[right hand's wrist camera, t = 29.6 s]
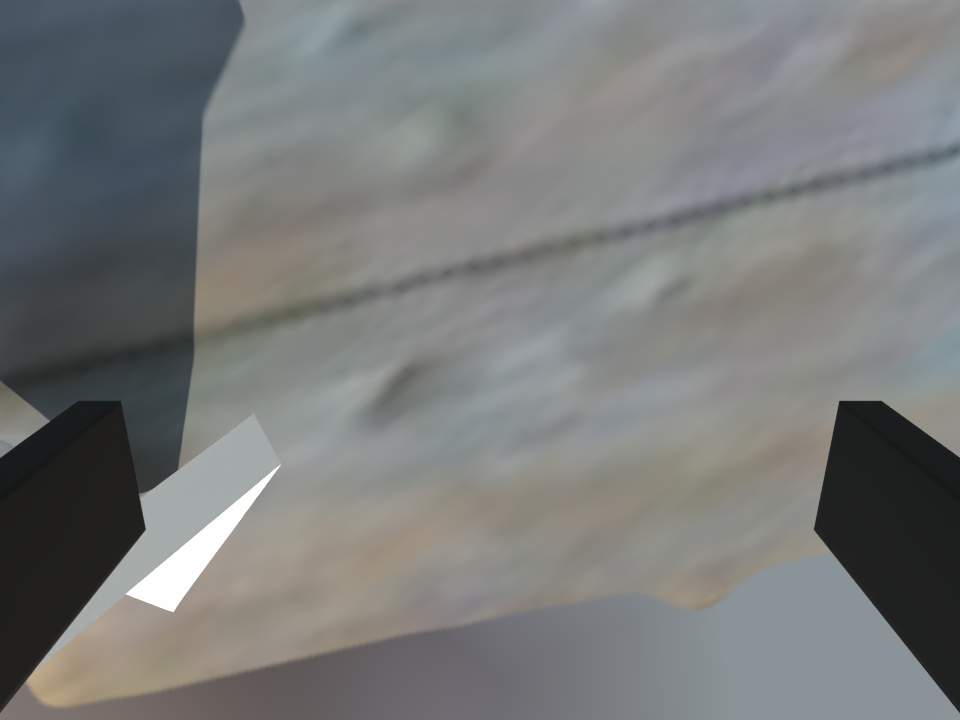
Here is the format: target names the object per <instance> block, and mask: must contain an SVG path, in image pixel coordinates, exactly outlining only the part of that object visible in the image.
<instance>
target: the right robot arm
mask: <svg viewBox="0 0 960 720" xmlns="http://www.w3.org/2000/svg"><path fill="white" fill-rule="evenodd" d="M145 530H146V527H145V522H144V517H143V512H142V507H141V502H140V497H139V491H138V486H137V481H136V476H135V471H134V466H133V461H132V456H131V451H130V446H129V441H128V436H127V431H126V426H125V421H124V416H123V411H122V406H121V401H78V402H76V403H75V404H74V405H72V406H71V407H70V408H68V409H67V410H65V411H64V412H63V413H61V414H60V415H58V416H57V417H56V418H54V419H53V420H52V421H50V422H49V423H47V424H46V425H45V426H43V427H42V428H41V429H39V430H38V431H36V432H35V433H34V434H32V435H31V436H30V437H28V438H27V439H25V440H24V441H23V442H21V443H20V444H18V445H17V446H16V447H14V448H13V449H12V450H10V451H9V452H7V453H6V454H5V455H3V456H2V457H1V458H0V713H1V711H2V710H3V709H4V708H5V706H6V705H7V704H8V703H9V701H10V700H11V699H12V698H13V696H14V695H15V694H16V692H17V691H18V690H19V689H20V687H21V686H22V685H23V684H24V682H25V681H26V680H27V679H28V677H29V676H30V675H31V674H32V672H33V671H34V670H35V669H36V667H37V666H38V665H39V664H40V662H41V661H42V660H43V659H44V657H45V656H46V655H47V654H48V652H49V651H50V650H51V649H52V647H53V646H54V645H55V644H56V642H57V641H58V640H59V638H60V637H61V636H62V635H63V633H64V632H65V631H66V630H67V628H68V627H69V626H70V625H71V623H72V622H73V621H74V620H75V618H76V617H77V616H78V615H79V613H80V612H81V611H82V610H83V608H84V607H85V606H86V605H87V603H88V602H89V601H90V600H91V598H92V597H93V596H94V595H95V593H96V592H97V591H98V589H99V588H100V587H101V586H102V584H103V583H104V582H105V581H106V579H107V578H108V577H109V576H110V574H111V573H112V572H113V571H114V569H115V568H116V567H117V566H118V564H119V563H120V562H121V561H122V559H123V558H124V557H125V556H126V554H127V553H128V552H129V551H130V549H131V548H132V547H133V546H134V544H135V543H136V542H137V540H138V539H139V538H140V537H141V535H142V534H143V533H144V532H145ZM814 530H815V532H816V533H817V534H818V535H819V537H820V538H821V539H822V540H823V542H824V543H825V544H826V546H827V547H828V548H829V549H830V551H831V552H832V553H833V554H834V556H835V557H836V558H837V559H838V561H839V562H840V563H841V564H842V566H843V567H844V568H845V569H846V571H847V572H848V573H849V574H850V576H851V577H852V578H853V579H854V581H855V582H856V583H857V584H858V586H859V587H860V588H861V589H862V591H863V592H864V593H865V595H866V596H867V597H868V598H869V600H870V601H871V602H872V603H873V605H874V606H875V607H876V608H877V610H878V611H879V612H880V613H881V615H882V616H883V617H884V618H885V620H886V621H887V622H888V623H889V625H890V626H891V627H892V628H893V630H894V631H895V632H896V633H897V635H898V636H899V637H900V638H901V640H902V641H903V642H904V644H905V645H906V646H907V647H908V649H909V650H910V651H911V652H912V654H913V655H914V656H915V657H916V658H917V660H918V661H919V662H920V664H921V665H922V666H923V667H924V669H925V670H926V671H927V672H928V674H929V675H930V676H931V677H932V679H933V680H934V681H935V682H936V684H937V685H938V686H939V687H940V689H941V690H942V691H943V693H944V694H945V695H946V696H947V697H948V699H949V700H950V701H951V703H952V704H953V705H954V706H955V708H956V709H957V710H958V711H959V713H960V458H959V457H958V456H957V455H955V454H954V453H953V452H951V451H950V450H948V449H947V448H946V447H944V446H943V445H942V444H940V443H939V442H937V441H936V440H935V439H933V438H932V437H930V436H929V435H928V434H926V433H925V432H924V431H922V430H921V429H919V428H918V427H917V426H915V425H914V424H913V423H911V422H910V421H908V420H907V419H906V418H904V417H903V416H902V415H900V414H899V413H897V412H896V411H895V410H893V409H892V408H890V407H889V406H888V405H886V404H885V403H884V402H882V401H839V406H838V411H837V416H836V421H835V426H834V431H833V436H832V441H831V446H830V451H829V456H828V461H827V466H826V471H825V476H824V481H823V486H822V491H821V496H820V502H819V507H818V512H817V517H816V522H815V527H814Z"/></svg>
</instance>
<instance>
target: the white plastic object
mask: <svg viewBox="0 0 960 720" xmlns="http://www.w3.org/2000/svg"><path fill="white" fill-rule="evenodd" d="M14 447H15V446H13V445H11V444H9V443H7V442H5V441H3V440H1V439H0V458H1V457H2V456H3V455H5V454H6V453H7V452H9V451H10V450H12V449H13V448H14ZM280 465H281V463H280V461H279V459H278V458H277V456H276V454H275V452H274V450H273V448H272V446H271V445H270V443H269V441H268V439H267V437H266V435H265V433H264V431H263V430H262V428H261V426H260V424H259V422H258V420H257V418H256V417H255V415H254V414H253V415H251V416H250V417H249V418H247V419H246V420H245V421H243V422H242V423H241V424H239V425H238V426H237V427H235V428H234V429H233V430H231V431H230V432H229V433H227V434H226V435H225V436H223V437H222V438H221V439H219V440H218V441H216V442H215V443H214V444H212V445H211V446H210V447H208V448H207V449H206V450H204V451H203V452H202V453H200V454H199V455H198V456H196V457H195V458H194V459H192V460H191V461H190V462H188V463H187V464H186V465H184V466H183V467H182V468H180V469H179V470H178V471H176V472H175V473H174V474H172V475H171V476H170V477H168V478H167V479H166V480H164V481H163V482H162V483H160V484H159V485H158V486H156V487H155V488H153V489H152V490H150V491H147V492H144V493H141V494H139V497H140V502H141V507H142V512H143V517H144V522H145V527H146V530H145V532H144V533H143V534H142V535H141V537H140V538H139V539H138V540H137V542H136V543H135V544H134V546H133V547H132V548H131V549H130V551H129V552H128V553H127V554H126V556H125V557H124V558H123V559H122V561H121V562H120V563H119V564H118V566H117V567H116V568H115V569H114V571H113V572H112V573H111V574H110V576H109V577H108V578H107V579H106V581H105V582H104V583H103V584H102V586H101V587H100V588H99V589H98V591H97V592H96V593H95V595H94V596H93V597H92V598H91V600H90V601H89V602H88V603H87V605H86V606H85V607H84V608H83V610H82V611H81V612H80V613H79V615H78V616H77V617H76V618H75V620H74V621H73V622H72V623H71V625H70V626H69V627H68V628H67V630H66V631H65V632H64V633H63V635H62V636H61V637H60V638H59V640H58V641H57V642H56V644H55V645H54V646H53V647H52V649H51V650H50V651H49V652H48V654H47V655H46V656H45V657H44V659H43V660H42V661H41V662H40V664H39V665H38V666H37V667H36V669H37V668H38V667H39V666H41V665H42V664H43V663H44V662H45V661H47V660H48V659H49V658H50V657H51V656H53V655H54V654H55V653H56V652H57V651H58V650H60V649H61V648H62V647H63V646H64V645H66V644H67V643H68V642H69V641H70V640H72V639H73V638H74V637H75V636H76V635H78V634H79V633H80V632H81V631H82V630H84V629H85V628H86V627H87V626H88V625H90V624H91V623H92V622H93V621H94V620H96V619H97V618H98V617H99V616H100V615H101V614H103V613H104V612H105V611H106V610H107V609H109V608H110V607H111V606H112V605H113V604H115V603H116V602H117V601H118V600H119V599H121V598H122V597H123V596H124V595H125V594H127V595H130V596H133V597H135V598H138V599H140V600H143V601H146V602H148V603H151V604H153V605H156V606H158V607H161V608H164V609H166V610H169V611H172V612H174V610H175V608H176V607H177V605H178V604H179V602H180V601H181V600H182V598H183V597H184V595H185V594H186V592H187V591H188V590H189V588H190V587H191V586H192V584H193V583H194V582H195V580H196V579H197V577H198V576H199V575H200V573H201V572H202V571H203V569H204V568H205V567H206V565H207V564H208V563H209V561H210V560H211V559H212V557H213V556H214V554H215V553H216V552H217V550H218V549H219V548H220V546H221V545H222V544H223V542H224V541H225V540H226V538H227V537H228V535H229V534H230V533H231V531H232V530H233V529H234V527H235V526H236V525H237V523H238V522H239V521H240V519H241V518H242V516H243V515H244V514H245V512H246V511H247V510H248V508H249V507H250V506H251V504H252V503H253V502H254V500H255V499H256V497H257V496H258V495H259V493H260V492H261V491H262V489H263V488H264V487H265V485H266V484H267V483H268V481H269V480H270V478H271V477H272V476H273V474H274V473H275V472H276V470H277V469H278V468H279V466H280ZM36 669H35V670H36ZM35 670H34V671H35Z"/></svg>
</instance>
